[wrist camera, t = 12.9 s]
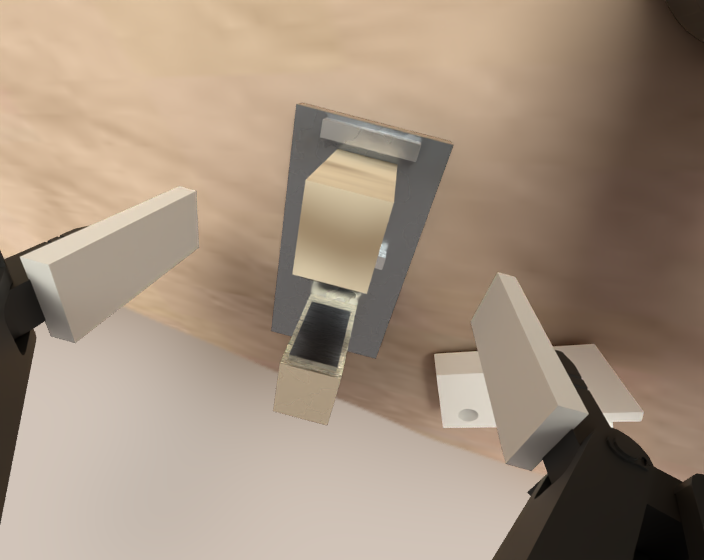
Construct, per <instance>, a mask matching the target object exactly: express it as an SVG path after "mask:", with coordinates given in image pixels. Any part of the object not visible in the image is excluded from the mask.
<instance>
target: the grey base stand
mask: <svg viewBox="0 0 704 560" xmlns="http://www.w3.org/2000/svg"><path fill="white" fill-rule="evenodd" d="M452 148H453V144H452V142H451V141H447V140H444V139H440V138H436V137H432V136H428V135H424V134H421V133H417V132H413V131H409V130H405V129H401V128H398V127H394V126H390V125H386V124H382V123H378V122H375V121H371V120H367V119H363V118H359V117H355V116H352V115H348V114H344V113H340V112H336V111H332V110H329V109H325V108H321V107H317V106H313V105H309V104H306V103H299V104H296V112H295V121H294V130H293V139H292V149H291V158H290V167H289V176H288V185H287V194H286V203H285V212H284V221H283V230H282V239H281V248H280V257H279V266H278V275H277V284H276V293H275V302H274V311H273V320H272V329H271V331H273V332H277V333H281V334H284V335H288V336H292V337H291V339H290V341H289V344H288V346H287V348H286V350H285V353H284V355H283V357H282V359H281V361H280V365H279V372H278V379H277V387H276V394H275V402H274V408H273V411H275V412H279V413H282V414H286V415H289V416H294V417H297V418H301V419H305V420H308V421H312V422H316V423H320V424H323V425H328V421H329V418H330V414H331V411H332V408H333V404H334V401H335V398H336V395H337V391H338V388H339V384H340V381H341V377H342V372H343V368H344V363H345V359H346V354H347V351H349V352H352V353H356V354H360V355H364V356H368V357H371V358H375V359H376V356H377V354H378V351H379V348H380V345H381V343H382V340H383V337H384V334H385V332H386V329H387V326H388V323H389V321H390V318H391V315H392V312H393V310H394V307H395V304H396V301H397V299H398V296H399V293H400V290H401V288H402V285H403V282H404V279H405V277H406V274H407V271H408V269H409V266H410V263H411V260H412V258H413V255H414V252H415V249H416V247H417V244H418V241H419V238H420V236H421V233H422V230H423V227H424V225H425V222H426V219H427V216H428V214H429V211H430V208H431V205H432V203H433V200H434V197H435V194H436V192H437V189H438V186H439V183H440V181H441V178H442V175H443V172H444V170H445V167H446V164H447V162H448V159H449V156H450V153H451V151H452ZM337 149H340V150H344V151H348V152H352V153H356V154H360V155H363V156H367V157H371V158H375V159H379V160H382V161H386V162H390V163H394V164H398V165H397V175H396V185H395V196H394V204H393V207H392V211H391V214H390V217H389V221H388V224H387V227H386V231H385V234H384V238H383V241H382V244H381V248H380V251H379V254H378V258H377V261H376V264H375V268H374V271H373V274H372V278H371V281H370V285H369V288H368V291H367V294H365V293H362V292H359V293H358V292H354V291H350V290H346V289H342V288H339V287H335V286H331V285H327V284H323V283H320V282H316V281H312V280H308V279H304V278H301V276H297V275H293V266H294V259H295V252H296V245H297V238H298V231H299V224H300V216H301V209H302V202H303V195H304V188H305V181H306V179H307V178H308V177H309V176H310V175H311V174H312V173H313V172H314V171H315V170H316V169H317V168H318V167H319V166H320V165H321V164H323V163H324V162H325V161H326V160H327V159H328V158H329V157H330V156H331V155H332V154H333V153H334V152H335V151H336V150H337Z"/></svg>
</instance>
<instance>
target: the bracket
mask: <svg viewBox="0 0 704 560" xmlns="http://www.w3.org/2000/svg"><path fill="white" fill-rule="evenodd" d="M553 348H554V350H558V351H562V352H563V353H564V354H565V355H566V356H567V357H568V358H569V359H570V360H571V361H572V362H573V363H574V365H575V366H576V368H577V370H578V372H579V373H580V375H581V377H582V378H581V379H582V380H584V382H585V384H586V385H587V387H588V389H587V390H589V391H590V392H591V394H592V396H593V397H594V399H595V401H596V403H597V404H598V406H599V408H600V410H601V411H602V413H603V415H604V416H605V418H606V420H607V422H608V423H609V425H610V427H611V428H613V422H637V421H641V420H642V417H643V414H644V411H643V410H642V408H641V407H640V406H639V404H638V403H637V402H636V400H635V399H634V397H633V396H632V395H631V393H630V392H629V391H628V389H627V388H626V386H625V385H624V384H623V382H622V381H621V380H620V378H619V377H618V375H617V374H616V373H615V371H614V370H613V369H612V367H611V366H610V364H609V363H608V362H607V360H606V359H605V358H604V356H603V355H602V353H601V352H600V351H599V349H598V348H597V347H596V345H595V344H585V345H569V346H553ZM434 358H435V367H436V376H437V384H438V392H439V400H440V408H441V416H442V423H443V428H482V427H496V423H495V419H494V415H493V411H492V407H491V402H490V398H489V394H488V390H487V386H486V382H485V378H484V374H483V370H482V366H481V362H480V358H479V354H478V351H472V352H455V353H439V354H434Z"/></svg>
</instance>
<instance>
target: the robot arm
mask: <svg viewBox="0 0 704 560" xmlns="http://www.w3.org/2000/svg"><path fill="white" fill-rule="evenodd" d="M666 2H667V4H668V6H669V8H670V10H671V12H672V13H673V15H674V16H675V18H676V19H677V20H678V22H679V23H680V24H681V25H682V26H683V27H684V28H685V29H686V30H687V31H688V32H689V33H690V34H691V35H693V36H694V37H695V38H697V39H698V40H700V41H702V42H704V0H666ZM198 248H199V238H198V215H197V193H196V191H195V190H192V189H188V188H184V187H180V186H178V187H176V188H174V189H172V190H169V191H167V192H165V193H163V194H160V195H158V196H156V197H154V198H151V199H149V200H147V201H145V202H142V203H140V204H138V205H136V206H133V207H131V208H129V209H126V210H124V211H122V212H120V213H117V214H115V215H113V216H111V217H108V218H106V219H104V220H102V221H99V222H97V223H95V224H93V225H90V226H86V227H81V228H76V229H73V230H71V231H69V232H66V233H64V234H62V235H60V237H55V238H53V239H50V240H48V242H43V243H41V244H39V245H36V246H34V247H32V248H30V249H27V250H25V251H23V252H20V253H18V254H16V255H13V256H11V257H9V258H6V259H4V258H3V256H2V253H1V251H0V523H1V518H2V512H3V507H4V502H5V497H6V492H7V487H8V482H9V476H10V471H11V466H12V461H13V456H14V451H15V446H16V440H17V435H18V430H19V425H20V420H21V415H22V410H23V404H24V399H25V394H26V389H27V384H28V379H29V374H30V369H31V364H32V358H33V353H34V348H35V343H36V334H35V331H34V329H33V328H35V327H36V326H38V325H40V324H41V323H43V322H44V321H45V323H46V325H47V328H48V330H49V333H50V336H52V337H55V338H59V339H63V340H66V341H70V342H73V343H76V342H77V341H79V340H80V339H81V338H82V337H84V336H85V335H86V334H88V333H89V332H90V331H91V330H93V329H94V328H95V327H97V326H98V325H99V324H101V323H102V322H103V321H104V320H106V319H107V318H108V317H110V316H111V315H112V314H114V313H115V312H116V311H117V310H119V309H120V308H121V307H123V306H124V305H125V304H126V303H128V302H129V301H130V300H132V299H133V298H134V297H136V296H137V295H138V294H139V293H141V292H142V291H143V290H145V289H146V288H147V287H148V286H150V285H151V284H152V283H154V282H155V281H156V280H157V279H159V278H160V277H161V276H163V275H164V274H165V273H167V272H168V271H169V270H170V269H172V268H173V267H174V266H176V265H177V264H178V263H179V262H181V261H182V260H183V259H185V258H186V257H187V256H189V255H190V254H191V253H192V252H194V251H195V250H196V249H198ZM471 326H472V330H473V334H474V338H475V342H476V346H477V350H478V354H479V358H480V362H481V366H482V370H483V374H484V378H485V382H486V386H487V390H488V394H489V398H490V402H491V407H492V411H493V415H494V419H495V423H496V427H497V431H498V435H499V439H500V443H501V447H502V451H503V455H504V459H505V463H506V464H509V465H512V466H516V467H519V468H523V469H526V470H530V471H532V470H533V469H534V468H535V467H536V466H537V465H538V464H539V463H540V462H541V461H542V460H543V461H544V464H545V467H546V470H547V473H548V474H547V475H545V476H544V477H543V478H542V479H541V480H540V481H539V482H538V483H537V484H536V485H535V486H534V487H533V488H532V489H530V490H529V491H528V494H529V495H530V496H531V497H530V499H529V500H528V502H527V504H526V505H525V507H524V508H523V510H522V512H521V513H520V515H519V517H518V518H517V520H516V522H515V523H514V525H513V526H512V528H511V530H510V531H509V533H508V535H507V536H506V538H505V540H504V541H503V543H502V544H501V546H500V548H499V549H498V551H497V553H496V554H495V556H494V557H493V559H492V560H704V475H703V474H695V475H693V476H692V477H690V478H689V479H687V480H685V481H684V482H682V481H680V480H678V479H676V478H674V477H672V476H670V475H669V474H667V473H665V472H663V471H661V470H659V469H657V468H655V467H654V466H653V464H652V462H651V460H650V458H649V456H648V455H647V454H646V453H645V451H644V450H643V449H642V448H641V447H640V446H639V445H638V444H637V443H636V442H635V441H634V440H632V439H631V438H630V437H629V436H627V435H625V434H624V433H622V432H621V431H619V430H617V429H614V428H611V427H610V425H609V423H608V422H607V420H606V418H605V416H604V415H603V413H602V411H601V410H600V408H599V406H598V404H597V403H596V401H595V399H594V397H593V396H592V394H591V392H590V391H589V390H587V389H588V387H587V385H586V384H585V382H584V380H582V379H581V378H582V377H581V375H580V373H579V372H578V370H577V368H576V366H575V365H574V363H573V362H572V361H571V360H570V359H569V358H568V357H567V356H566V355H565V354H564V353H563V352H562V351H558V350H554V348H553V346H552V344H551V342H550V340H549V339H548V337H547V335H546V333H545V331H544V329H543V327H542V326H541V324H540V322H539V320H538V318H537V316H536V314H535V312H534V311H533V309H532V307H531V305H530V303H529V301H528V299H527V298H526V296H525V294H524V292H523V290H522V288H521V286H520V284H519V283H518V281H517V279H516V277H514V276H511V275H507V274H503V273H500V272H497V274H496V276H495V277H494V279H493V281H492V283H491V285H490V287H489V288H488V290H487V292H486V294H485V296H484V298H483V299H482V301H481V303H480V305H479V307H478V309H477V310H476V312H475V314H474V316H473V318H472V320H471Z"/></svg>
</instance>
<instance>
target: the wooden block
mask: <svg viewBox="0 0 704 560" xmlns="http://www.w3.org/2000/svg"><path fill="white" fill-rule="evenodd" d="M397 165H398V164H394V163H390V162H386V161H382V160H379V159H375V158H371V157H367V156H363V155H360V154H356V153H352V152H348V151H344V150H340V149H337V150H336V151H335V152H334V153H333V154H332V155H331V156H330V157H329V158H328V159H327V160H326V161H325V162H324V163H323V164H321V165H320V166H319V167H318V168H317V169H316V170H315V171H314V172H313V173H312V174H311V175H310V176H309V177H308V178H307V179H306V181H305V188H304V195H303V202H302V209H301V216H300V224H299V231H298V238H297V245H296V252H295V259H294V266H293V275H297V276H301V278H304V279H308V280H312V281H316V282H320V283H323V284H327V285H331V286H335V287H339V288H342V289H346V290H350V291H354V292H358V293H359V292H362V293H365V294H367V291H368V288H369V285H370V281H371V278H372V274H373V271H374V268H375V264H376V261H377V258H378V254H379V251H380V248H381V244H382V241H383V238H384V234H385V231H386V227H387V224H388V221H389V217H390V214H391V211H392V207H393V204H394V196H395V185H396V175H397Z"/></svg>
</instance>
